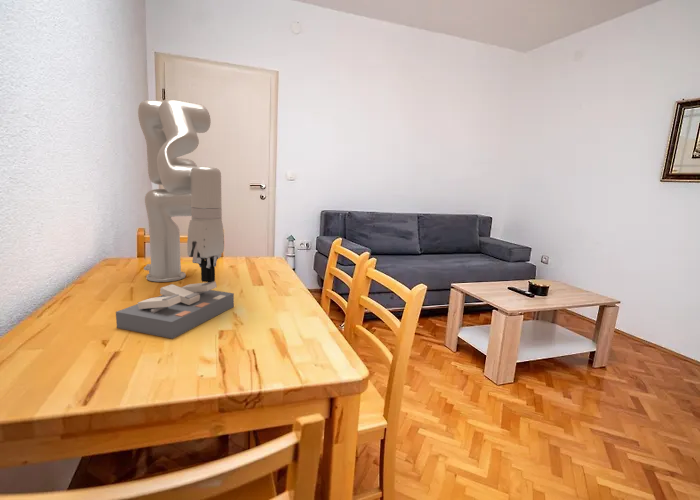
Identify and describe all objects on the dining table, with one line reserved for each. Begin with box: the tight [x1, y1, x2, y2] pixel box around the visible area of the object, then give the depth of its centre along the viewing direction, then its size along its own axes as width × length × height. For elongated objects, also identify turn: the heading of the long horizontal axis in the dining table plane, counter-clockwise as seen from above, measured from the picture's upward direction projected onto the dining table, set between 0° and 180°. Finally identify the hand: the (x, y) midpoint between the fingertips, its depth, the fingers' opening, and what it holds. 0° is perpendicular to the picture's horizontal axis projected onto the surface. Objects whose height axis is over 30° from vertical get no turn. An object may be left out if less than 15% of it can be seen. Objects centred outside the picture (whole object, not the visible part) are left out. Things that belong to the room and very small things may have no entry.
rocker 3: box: [181, 280, 218, 292], centre depth 102 cm, size 9×4×2 cm, turn 74°
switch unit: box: [115, 289, 235, 340], centre depth 96 cm, size 16×24×5 cm, turn 164°
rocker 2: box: [159, 283, 200, 305], centre depth 96 cm, size 9×4×2 cm, turn 74°
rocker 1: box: [137, 294, 181, 309], centre depth 89 cm, size 9×4×2 cm, turn 74°
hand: (208, 281), depth 101 cm, fingers closed
